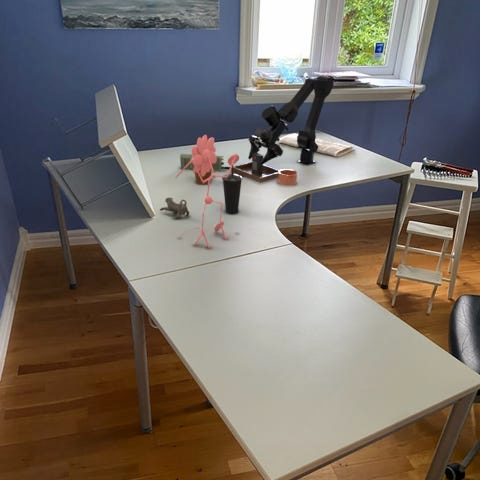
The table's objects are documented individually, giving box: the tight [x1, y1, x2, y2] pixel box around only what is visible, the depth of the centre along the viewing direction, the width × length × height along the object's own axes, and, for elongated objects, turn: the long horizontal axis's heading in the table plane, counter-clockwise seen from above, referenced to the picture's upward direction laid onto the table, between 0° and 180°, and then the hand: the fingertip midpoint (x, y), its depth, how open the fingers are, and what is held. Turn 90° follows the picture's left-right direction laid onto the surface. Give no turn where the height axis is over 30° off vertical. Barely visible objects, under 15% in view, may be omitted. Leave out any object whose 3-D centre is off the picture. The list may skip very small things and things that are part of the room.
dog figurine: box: [159, 197, 190, 220], centre depth 185 cm, size 12×6×7 cm, turn 53°
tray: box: [233, 161, 281, 184], centre depth 227 cm, size 14×19×3 cm
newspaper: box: [277, 133, 355, 157], centre depth 266 cm, size 37×19×3 cm, turn 50°
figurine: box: [174, 134, 240, 249], centre depth 162 cm, size 15×26×35 cm, turn 142°
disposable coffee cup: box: [192, 155, 212, 185], centre depth 215 cm, size 10×10×12 cm
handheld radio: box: [179, 153, 230, 172], centre depth 230 cm, size 7×3×25 cm
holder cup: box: [277, 168, 298, 186], centre depth 218 cm, size 8×8×5 cm
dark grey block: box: [251, 152, 264, 176], centre depth 224 cm, size 3×5×9 cm, turn 39°
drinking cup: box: [221, 165, 243, 215], centre depth 186 cm, size 8×8×20 cm
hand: (255, 161), depth 223 cm, fingers open, 8 cm apart
